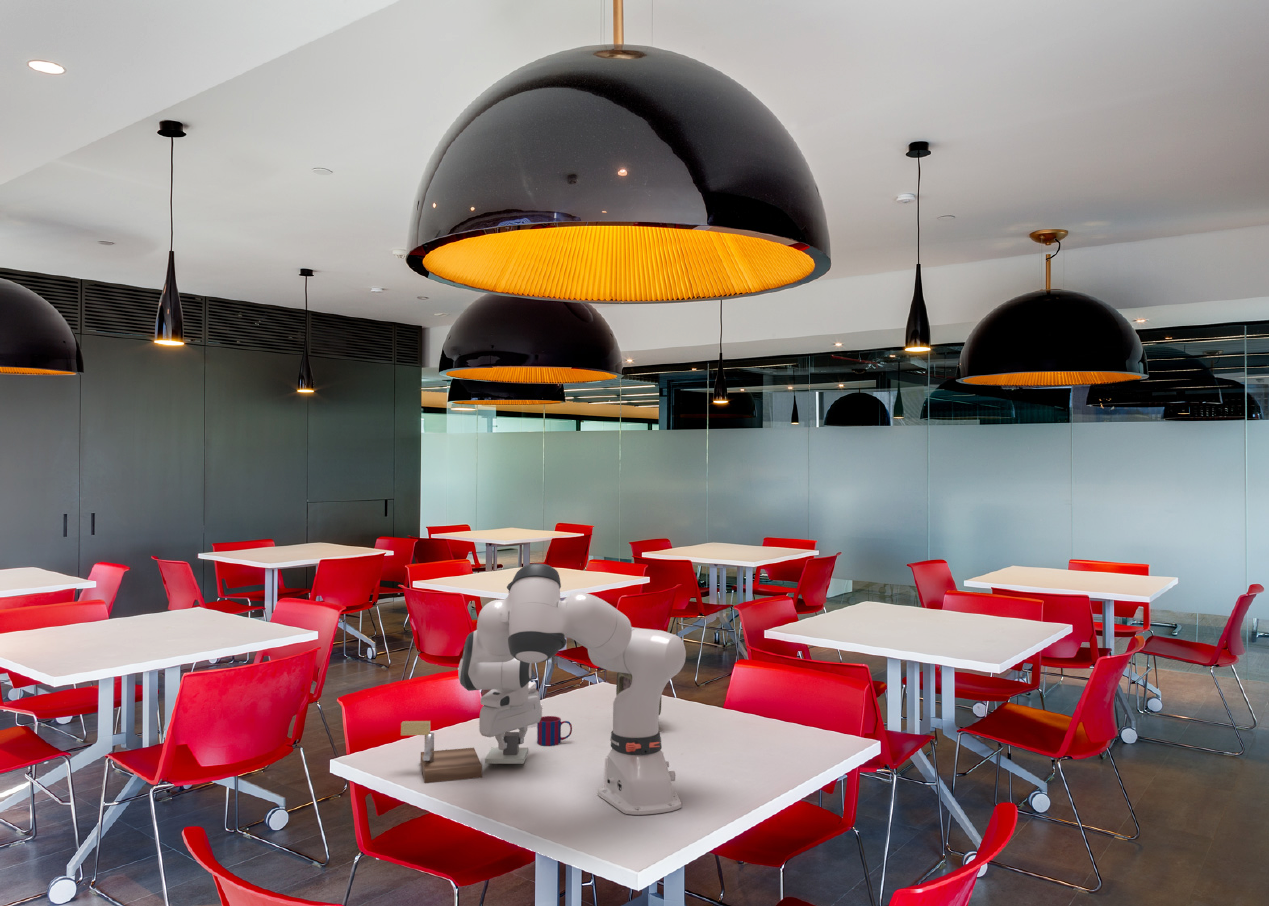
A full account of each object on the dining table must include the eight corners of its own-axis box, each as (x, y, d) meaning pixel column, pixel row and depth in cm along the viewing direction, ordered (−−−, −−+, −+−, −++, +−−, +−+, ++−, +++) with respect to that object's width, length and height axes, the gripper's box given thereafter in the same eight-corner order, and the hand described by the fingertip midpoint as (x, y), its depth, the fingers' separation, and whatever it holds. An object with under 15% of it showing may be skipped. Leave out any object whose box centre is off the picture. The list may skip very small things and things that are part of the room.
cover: (523, 763, 220) (523, 739, 220) (485, 763, 220) (485, 739, 220) (528, 752, 230) (528, 728, 230) (491, 751, 230) (491, 728, 230)
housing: (481, 777, 214) (481, 765, 214) (424, 783, 210) (424, 770, 210) (473, 758, 229) (473, 747, 229) (420, 763, 225) (420, 752, 225)
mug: (541, 738, 248) (541, 715, 249) (574, 741, 246) (574, 717, 247) (534, 745, 242) (534, 721, 242) (567, 747, 240) (568, 723, 240)
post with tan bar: (397, 765, 212) (398, 726, 213) (402, 759, 218) (403, 721, 218) (431, 765, 213) (431, 726, 213) (434, 758, 218) (435, 720, 219)
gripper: (530, 685, 236) (529, 735, 235) (475, 699, 220) (474, 753, 219) (547, 688, 232) (546, 739, 232) (492, 702, 216) (492, 757, 215)
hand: (511, 746), depth 225 cm, fingers closed on cover, 5 cm apart
